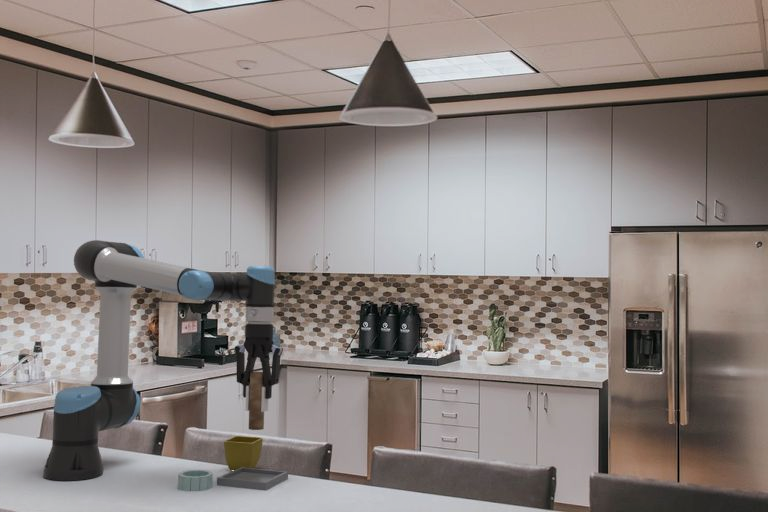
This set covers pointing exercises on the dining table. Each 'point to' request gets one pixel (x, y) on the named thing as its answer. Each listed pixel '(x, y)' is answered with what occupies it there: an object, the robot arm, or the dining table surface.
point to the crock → (195, 480)
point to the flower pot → (242, 451)
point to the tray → (252, 478)
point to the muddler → (256, 401)
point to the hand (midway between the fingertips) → (256, 410)
